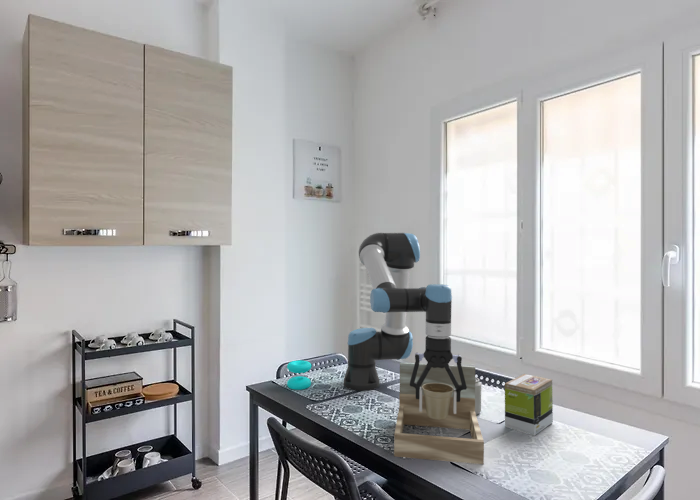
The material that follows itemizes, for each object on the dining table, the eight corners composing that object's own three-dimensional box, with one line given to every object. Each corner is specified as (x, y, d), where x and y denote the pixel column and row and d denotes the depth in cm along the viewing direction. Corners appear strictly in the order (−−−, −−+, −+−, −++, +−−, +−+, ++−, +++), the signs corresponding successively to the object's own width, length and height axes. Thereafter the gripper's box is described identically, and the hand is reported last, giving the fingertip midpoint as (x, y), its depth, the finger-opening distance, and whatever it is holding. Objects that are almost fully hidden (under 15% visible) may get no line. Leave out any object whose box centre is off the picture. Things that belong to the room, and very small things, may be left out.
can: (477, 417, 151) (477, 382, 151) (456, 413, 155) (456, 379, 155) (483, 410, 157) (483, 377, 157) (462, 406, 161) (463, 374, 161)
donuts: (308, 366, 176) (284, 365, 178) (308, 391, 177) (283, 390, 178) (313, 360, 186) (290, 359, 188) (313, 383, 186) (290, 382, 188)
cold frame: (399, 422, 146) (400, 362, 146) (474, 428, 142) (474, 366, 142) (394, 456, 123) (394, 384, 122) (483, 464, 119) (484, 390, 118)
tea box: (523, 415, 154) (524, 372, 154) (553, 423, 147) (554, 379, 147) (503, 427, 143) (504, 381, 143) (534, 437, 136) (535, 389, 136)
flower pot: (451, 411, 136) (451, 383, 136) (455, 423, 127) (455, 393, 127) (420, 409, 137) (420, 382, 137) (422, 421, 128) (422, 391, 128)
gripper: (400, 337, 130) (399, 413, 130) (477, 340, 126) (476, 418, 127) (402, 332, 138) (401, 404, 138) (474, 335, 134) (474, 409, 134)
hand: (437, 411), depth 132 cm, fingers closed on flower pot, 9 cm apart
